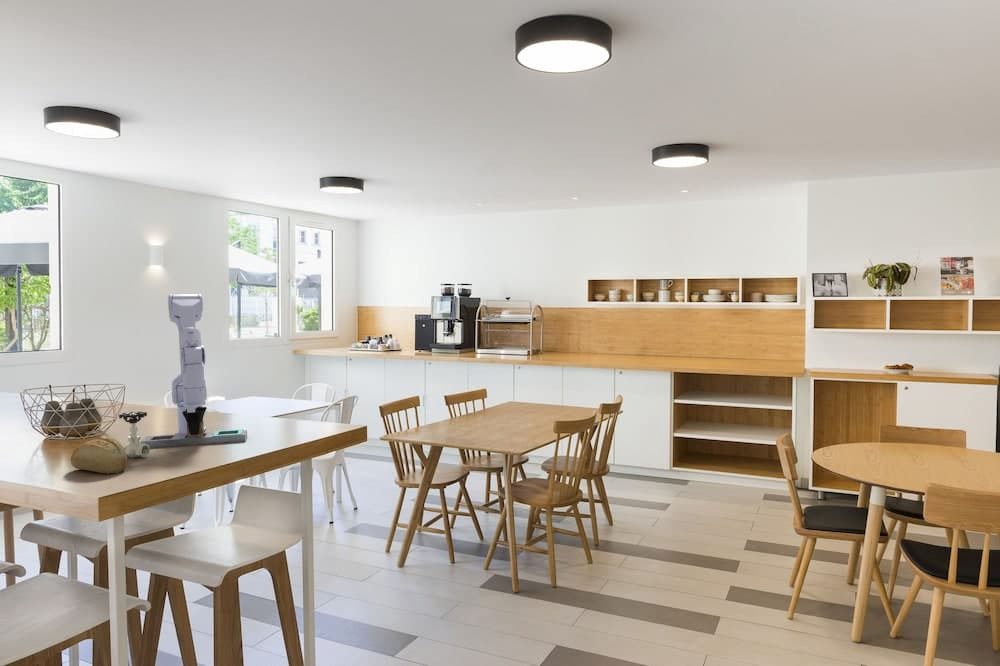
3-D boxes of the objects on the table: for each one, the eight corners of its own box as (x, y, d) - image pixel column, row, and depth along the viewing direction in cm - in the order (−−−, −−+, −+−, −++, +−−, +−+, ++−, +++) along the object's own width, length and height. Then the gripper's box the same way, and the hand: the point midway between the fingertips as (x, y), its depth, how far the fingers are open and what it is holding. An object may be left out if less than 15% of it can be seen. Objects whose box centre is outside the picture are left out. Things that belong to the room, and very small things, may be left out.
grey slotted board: (146, 443, 204) (146, 435, 203) (247, 436, 211) (247, 429, 211) (140, 448, 196) (140, 440, 196) (245, 441, 204) (245, 433, 203)
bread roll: (94, 464, 178) (93, 434, 177) (139, 468, 173) (138, 437, 172) (60, 473, 169) (58, 441, 168) (106, 478, 164) (104, 444, 163)
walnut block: (189, 441, 205) (188, 421, 205) (204, 440, 206) (203, 420, 206) (187, 444, 201) (186, 423, 201) (202, 443, 202) (201, 422, 202)
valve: (136, 461, 181) (134, 415, 180) (115, 460, 182) (113, 415, 181) (154, 455, 187) (152, 411, 187) (133, 454, 188) (131, 411, 188)
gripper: (183, 385, 209) (184, 429, 209) (174, 391, 195) (176, 438, 195) (208, 384, 211) (209, 428, 211) (201, 389, 197) (203, 437, 197)
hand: (195, 433), depth 203 cm, fingers closed on walnut block, 4 cm apart
